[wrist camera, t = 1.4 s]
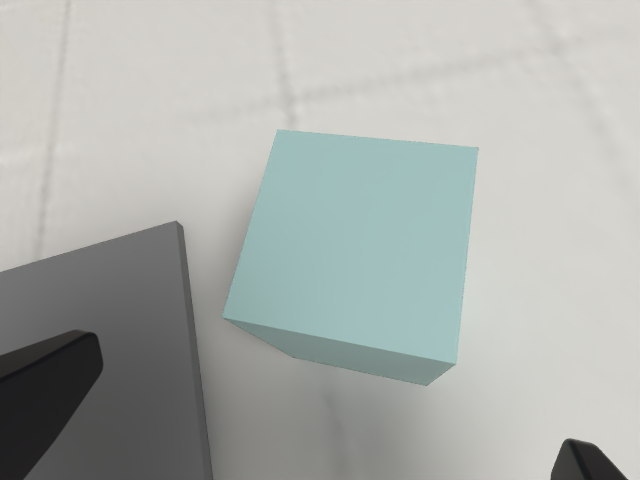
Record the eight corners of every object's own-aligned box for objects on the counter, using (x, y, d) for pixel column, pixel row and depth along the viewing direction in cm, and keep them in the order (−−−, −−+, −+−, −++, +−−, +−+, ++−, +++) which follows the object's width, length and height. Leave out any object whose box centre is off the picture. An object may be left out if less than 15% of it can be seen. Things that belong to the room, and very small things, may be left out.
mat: (224, 583, 17) (216, 591, 16) (-78, 657, 17) (-99, 668, 16) (182, 226, 23) (175, 220, 22) (-37, 291, 24) (-51, 287, 23)
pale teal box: (426, 385, 18) (456, 364, 10) (293, 357, 19) (221, 317, 11) (442, 255, 20) (478, 147, 12) (320, 237, 21) (277, 129, 13)
